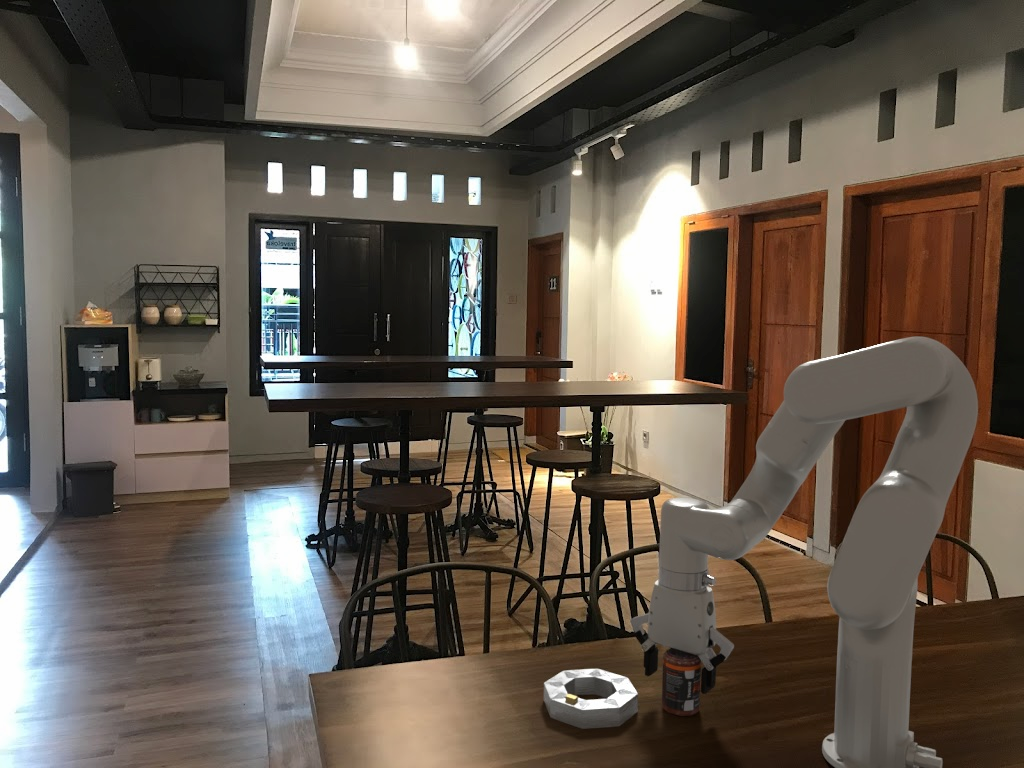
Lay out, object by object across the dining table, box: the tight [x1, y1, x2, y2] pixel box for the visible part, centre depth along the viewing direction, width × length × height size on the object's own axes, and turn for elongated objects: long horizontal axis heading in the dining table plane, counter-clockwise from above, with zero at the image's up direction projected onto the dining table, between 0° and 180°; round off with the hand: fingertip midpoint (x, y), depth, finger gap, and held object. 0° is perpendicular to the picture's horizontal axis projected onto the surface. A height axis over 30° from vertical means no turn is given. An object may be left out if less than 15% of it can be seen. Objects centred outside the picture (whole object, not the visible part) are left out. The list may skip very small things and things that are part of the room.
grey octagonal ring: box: [543, 668, 639, 730], centre depth 133 cm, size 14×14×4 cm
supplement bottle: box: [661, 648, 702, 717], centre depth 132 cm, size 6×6×11 cm
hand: (678, 681), depth 133 cm, fingers open, 9 cm apart
